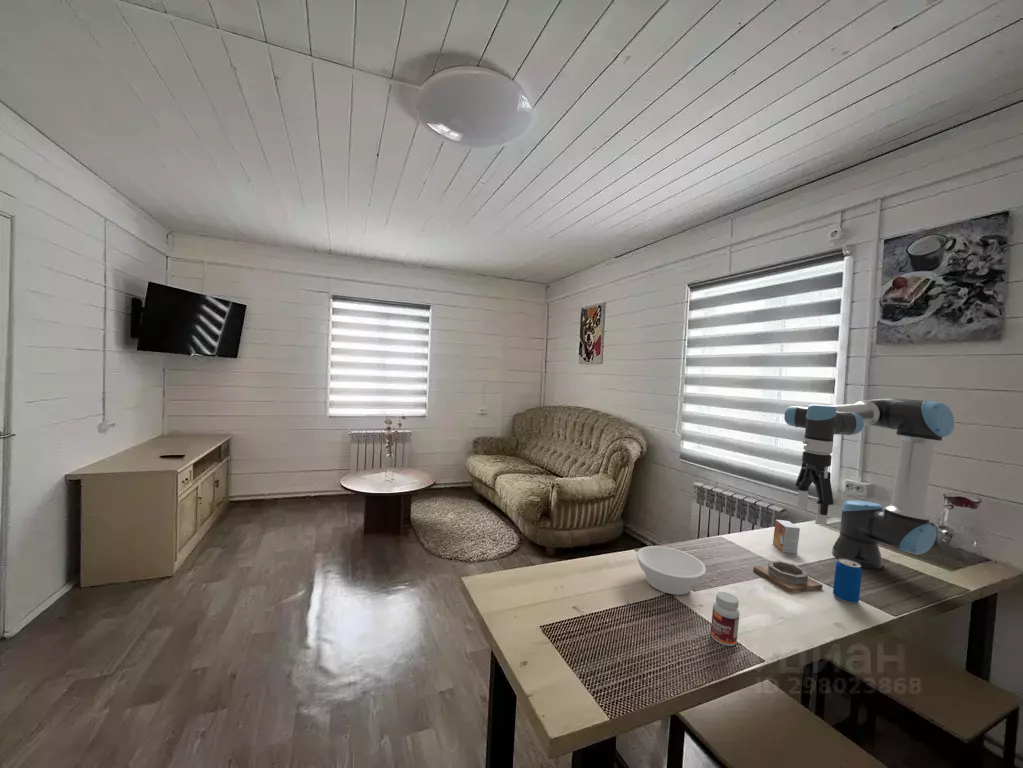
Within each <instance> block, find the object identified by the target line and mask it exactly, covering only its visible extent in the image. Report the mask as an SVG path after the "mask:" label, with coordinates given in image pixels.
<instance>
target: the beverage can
mask: <svg viewBox="0 0 1023 768" xmlns="http://www.w3.org/2000/svg"><path fill="white" fill-rule="evenodd" d="M834 568H835V569H834V571H835V572H834V580H833V587H832V588H833V589H832V593H833V596H835V598H837V600H839V601H841V602H844V603H847V604H851V605H852V604H857V603H859V601H860V594H861V586H862V585H861V584H862V576H863V568H862V567H861V565H860V564H859V563H857V562H854V561H852V560H848V559H839V558H837V561H836V562H835V567H834Z"/></svg>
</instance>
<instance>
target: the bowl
mask: <svg viewBox="0 0 1023 768" xmlns="http://www.w3.org/2000/svg"><path fill="white" fill-rule="evenodd" d="M636 558H637V562H638V564H639V567H640V569H641V571H643V572H644V575H645V579H646V581H647V583H648V584H649V585H650V586H651V587H652V588H654V589H657V590H658V591H660V592H662V593H665V594H666V593H667V594H671V595H679V596H680V595H687V594H689V593H690V592H691V590H692V589H693V586H695V585H696V584H698V583H700V582H701V580H702V579H703V577H704V576H705V574H706V572H707V570H706V569H707V568H706V566H705V564H704V563H703V562H702V561H701V560H700V559H699V558H697V557H695V556H693V555H692V554H690V553H689V552H688V553H687V552H685V551H682V550H679V549H676V548H672V547H668V546H667V547H666V546H661V545H660V546H659V545H655V546H654V545H649V546H644V547H641V548H639V549H638V550H637V551H636Z"/></svg>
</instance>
